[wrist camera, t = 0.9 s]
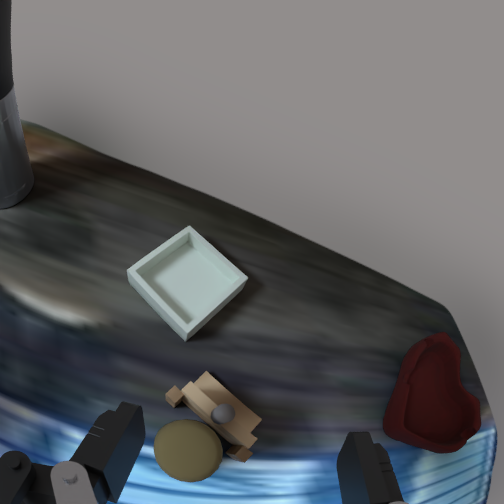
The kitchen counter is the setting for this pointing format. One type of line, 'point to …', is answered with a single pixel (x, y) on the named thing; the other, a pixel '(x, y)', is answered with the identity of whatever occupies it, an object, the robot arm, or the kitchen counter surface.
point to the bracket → (219, 413)
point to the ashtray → (432, 399)
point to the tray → (186, 281)
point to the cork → (188, 450)
